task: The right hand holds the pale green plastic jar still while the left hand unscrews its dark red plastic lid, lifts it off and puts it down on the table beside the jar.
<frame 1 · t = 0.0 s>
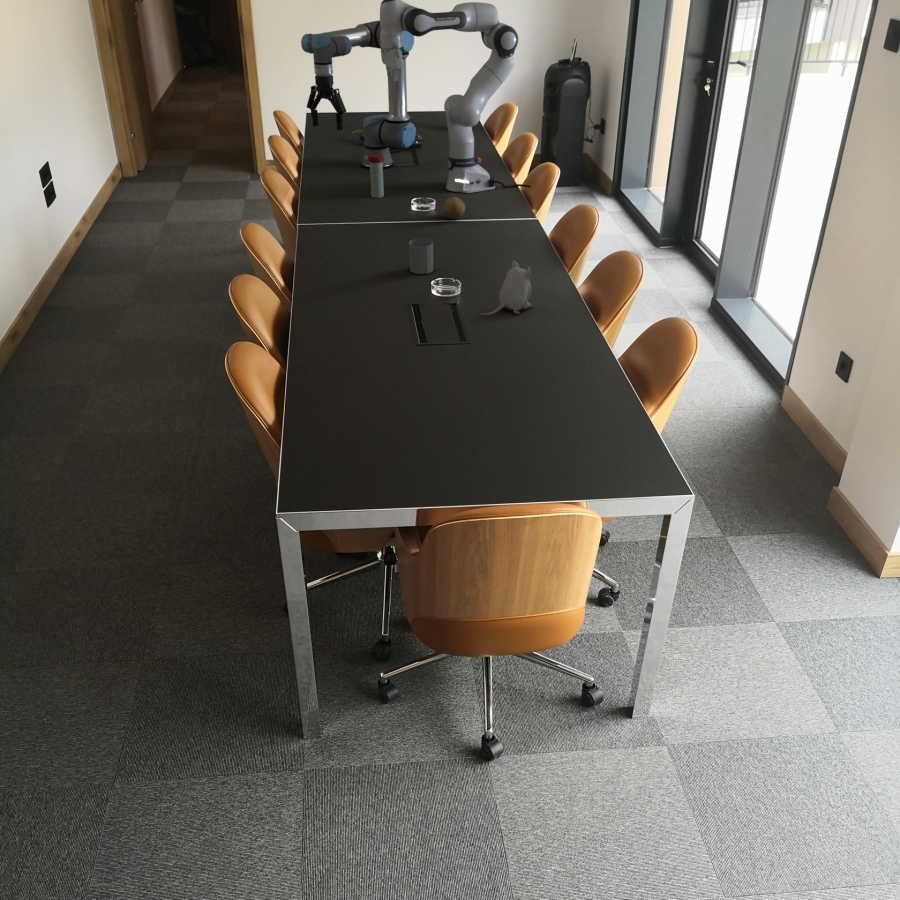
left hand: (327, 128, 372), 28 cm above the table, tool pointing down, fingers open, 13 cm apart
right hand: (392, 78, 361), 48 cm above the table, tool pointing down, fingers open, 8 cm apart
potato: (453, 218, 358), on the table
apple: (461, 130, 491), on the table
cup: (421, 270, 308), on the table
jar: (377, 195, 384), on the table
scepter: (378, 142, 466), on the table
toy: (504, 314, 276), on the table
lid: (375, 156, 375), point 17 cm above the table, screwed on, not yet turned
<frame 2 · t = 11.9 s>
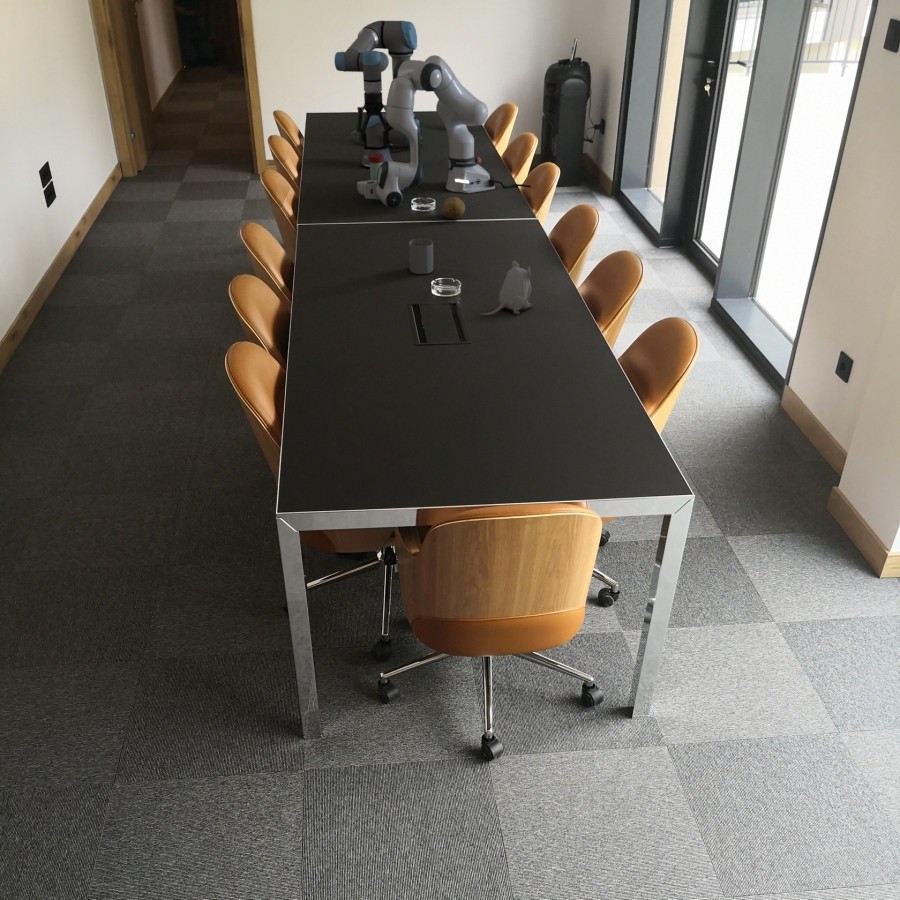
left hand: (375, 147, 373), 21 cm above the table, tool pointing down, fingers open, 8 cm apart
right hand: (376, 180, 381), 6 cm above the table, tool horizontal, fingers closed on jar, 5 cm apart
jar: (377, 195, 384), on the table, touching right hand
everything else where it was.
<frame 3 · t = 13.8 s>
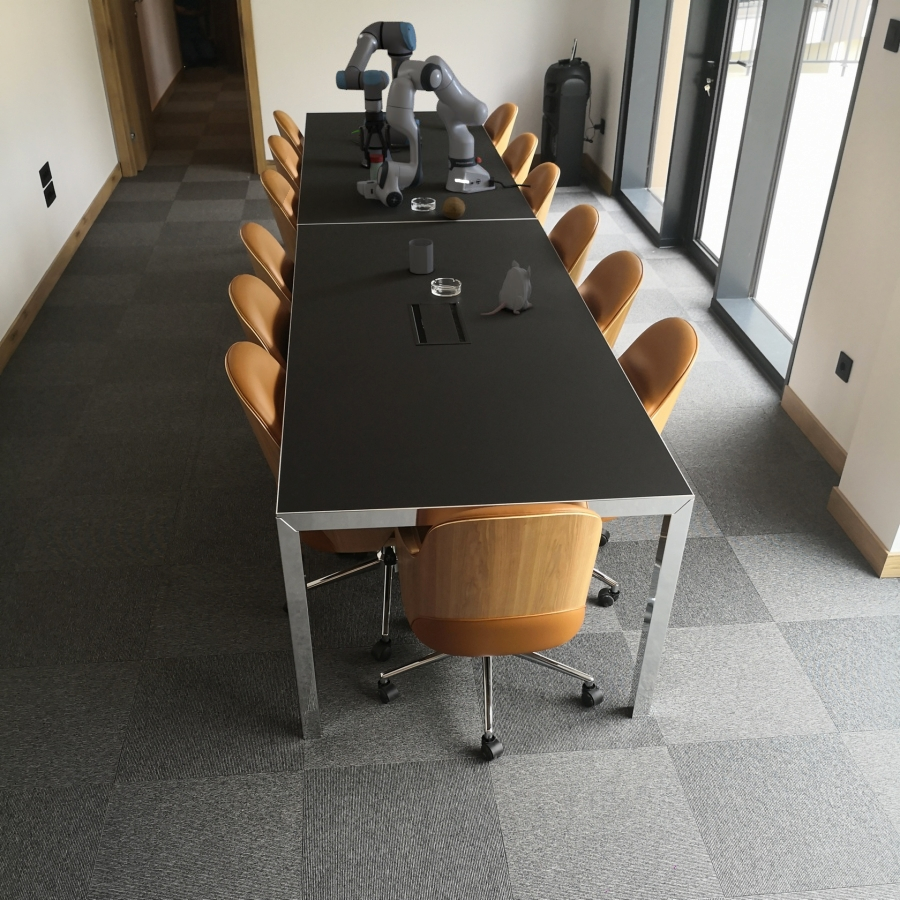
left hand: (376, 166, 377), 13 cm above the table, tool pointing down, fingers closed on lid, 6 cm apart
right hand: (376, 180, 381), 6 cm above the table, tool horizontal, fingers closed on jar, 5 cm apart
jar: (377, 196, 384), on the table, touching right hand
lid: (375, 156, 375), point 17 cm above the table, screwed on, not yet turned, touching left hand
everything else where it was.
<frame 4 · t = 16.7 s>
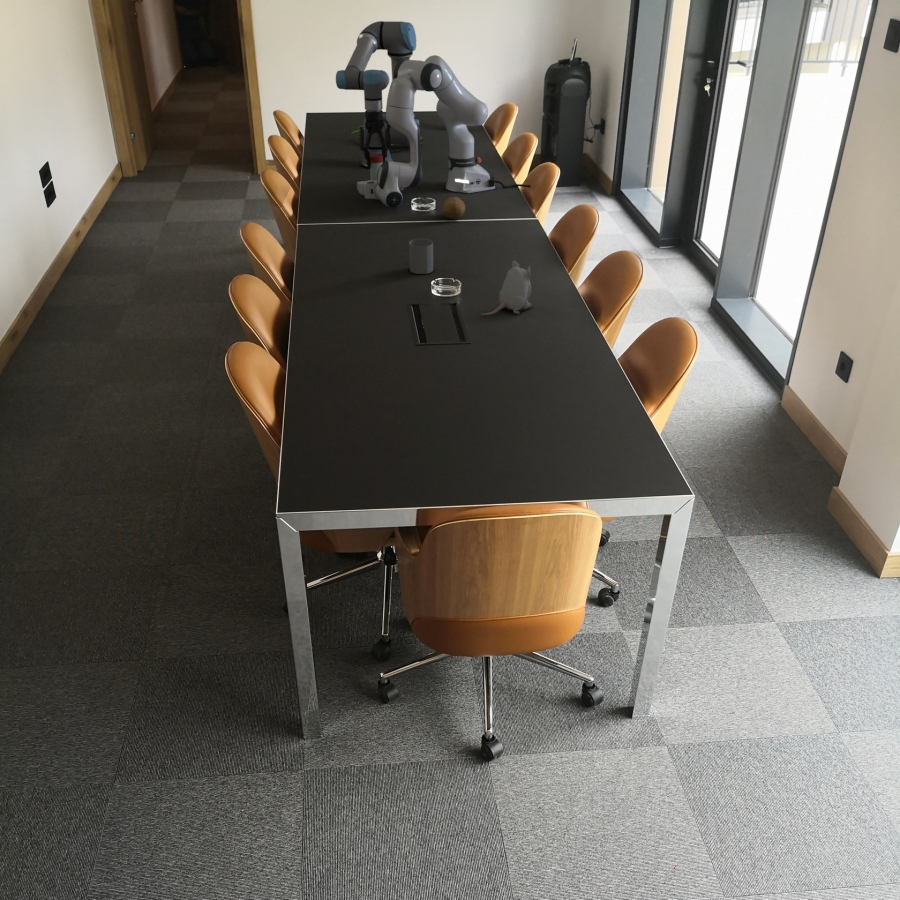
left hand: (376, 165, 377), 13 cm above the table, tool pointing down, fingers closed on lid, 6 cm apart
right hand: (376, 180, 381), 6 cm above the table, tool horizontal, fingers closed on jar, 5 cm apart
jar: (377, 196, 384), on the table, touching right hand
lid: (375, 156, 375), point 17 cm above the table, turned 92° so far, risen 0.1 cm, still on its thread, touching left hand
everything else where it was.
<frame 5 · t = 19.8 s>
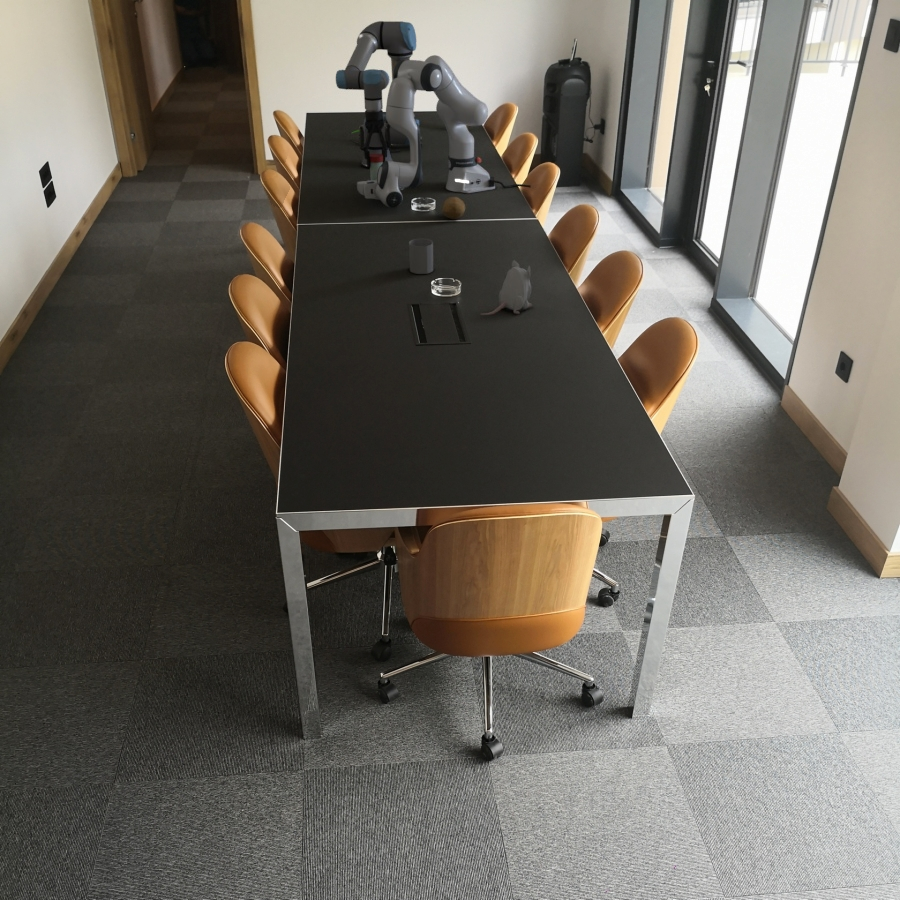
left hand: (376, 165, 377), 13 cm above the table, tool pointing down, fingers closed on lid, 6 cm apart
right hand: (376, 180, 381), 6 cm above the table, tool horizontal, fingers closed on jar, 5 cm apart
jar: (377, 196, 384), on the table, touching right hand
lid: (375, 155, 375), point 17 cm above the table, turned 184° so far, risen 0.2 cm, still on its thread, touching left hand
everything else where it was.
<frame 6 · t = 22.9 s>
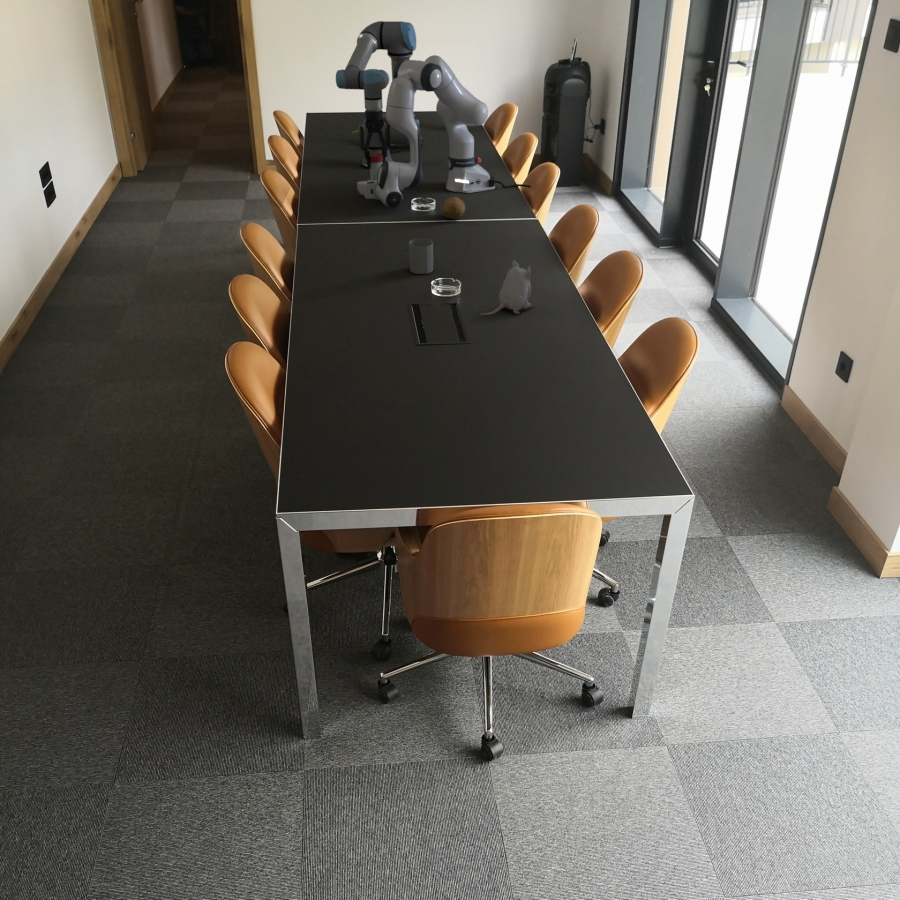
left hand: (376, 165, 377), 13 cm above the table, tool pointing down, fingers closed on lid, 6 cm apart
right hand: (376, 180, 381), 6 cm above the table, tool horizontal, fingers closed on jar, 5 cm apart
jar: (377, 196, 384), on the table, touching right hand
lid: (375, 155, 375), point 17 cm above the table, turned 276° so far, risen 0.3 cm, still on its thread, touching left hand
everything else where it was.
when the left hand's fingers open (0 cm above the table, at t = 29.7 s): lid drops 2 cm, point 2 cm above the table.
when the right hand's fingers open (6 cm above the table, at t = 30.4 s): jar stays where it is, on the table.
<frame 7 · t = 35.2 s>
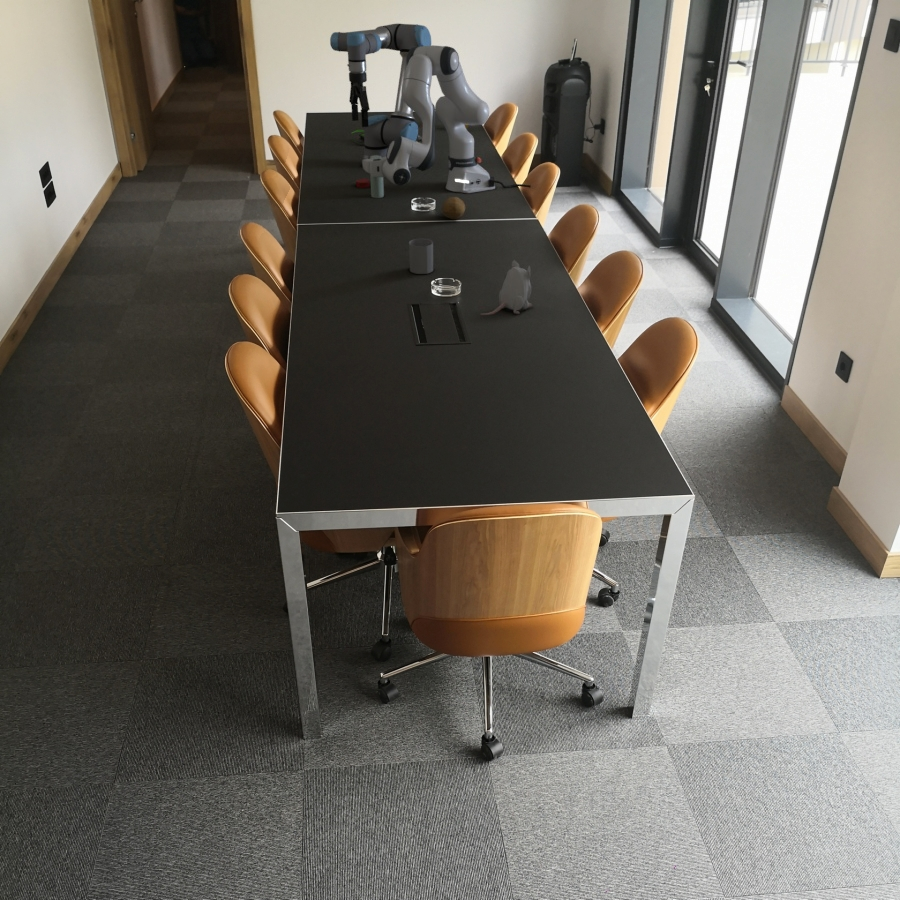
left hand: (360, 123, 383), 27 cm above the table, tool pointing down, fingers open, 13 cm apart
right hand: (382, 158, 365), 19 cm above the table, tool horizontal, fingers open, 8 cm apart
jar: (377, 196, 384), on the table
lid: (362, 181, 396), point 2 cm above the table, off its thread
everything else where it was.
at the end: lid came off its thread; lid point 2.0 cm above the table; the left hand is holding nothing; the right hand is holding nothing; jar tilted 0°; jar moved 0.1 cm from its start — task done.
